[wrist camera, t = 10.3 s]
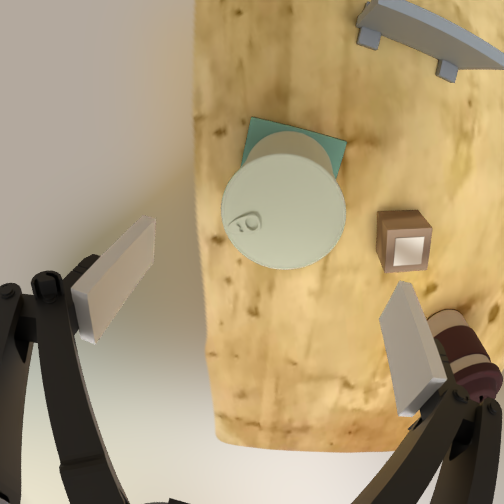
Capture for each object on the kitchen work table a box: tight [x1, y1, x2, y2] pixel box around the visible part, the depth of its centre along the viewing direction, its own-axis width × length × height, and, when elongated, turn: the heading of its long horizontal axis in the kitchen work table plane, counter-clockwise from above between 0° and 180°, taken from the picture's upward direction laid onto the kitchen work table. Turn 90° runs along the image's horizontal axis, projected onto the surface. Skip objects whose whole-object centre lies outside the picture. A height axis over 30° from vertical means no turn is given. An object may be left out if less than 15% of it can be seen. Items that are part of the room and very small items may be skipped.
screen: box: [356, 0, 504, 83], centre depth 20 cm, size 5×12×10 cm, turn 78°
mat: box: [241, 117, 347, 179], centre depth 33 cm, size 10×10×1 cm
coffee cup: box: [427, 310, 503, 403], centre depth 34 cm, size 10×10×15 cm
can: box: [221, 131, 346, 270], centre depth 28 cm, size 9×9×12 cm
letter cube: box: [376, 210, 432, 273], centre depth 33 cm, size 5×5×5 cm
